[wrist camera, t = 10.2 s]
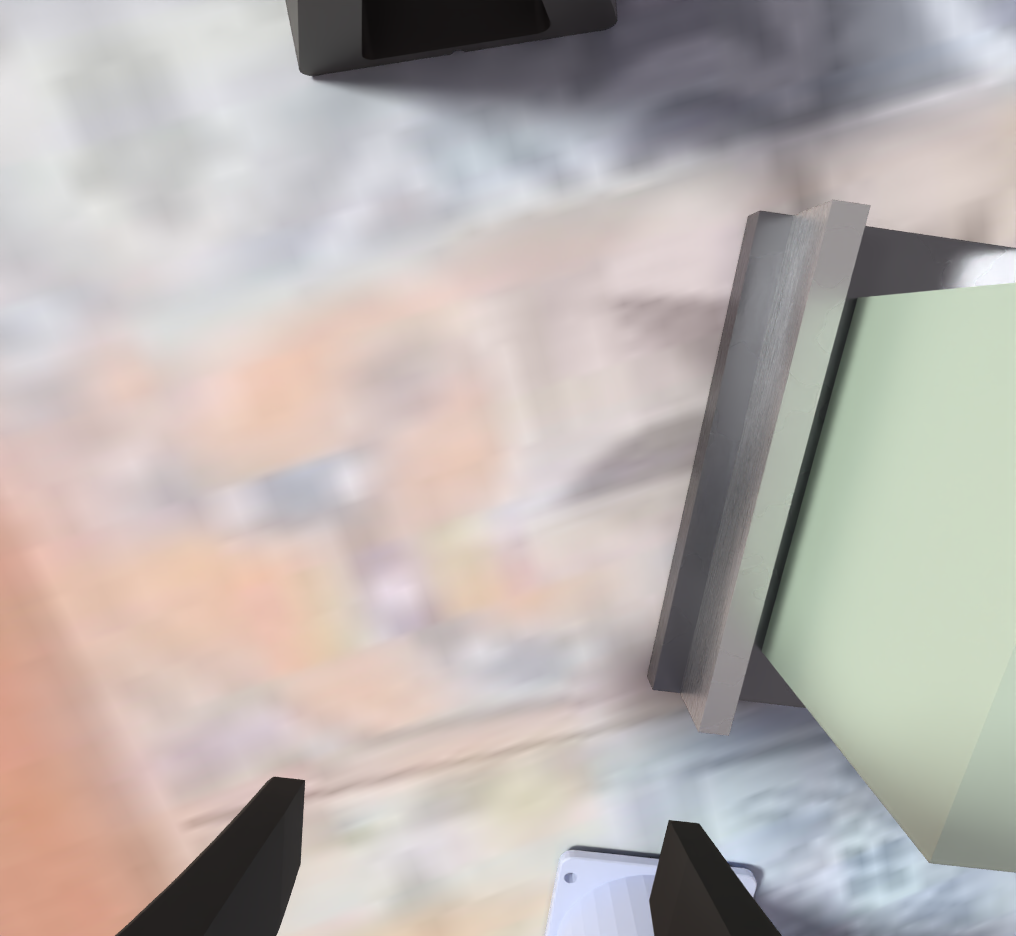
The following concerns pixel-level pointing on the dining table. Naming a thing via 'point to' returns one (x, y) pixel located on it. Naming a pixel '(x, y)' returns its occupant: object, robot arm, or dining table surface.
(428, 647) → the dining table surface
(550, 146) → the dining table surface
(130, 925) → the robot arm
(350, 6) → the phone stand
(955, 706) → the door panel
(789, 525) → the track
